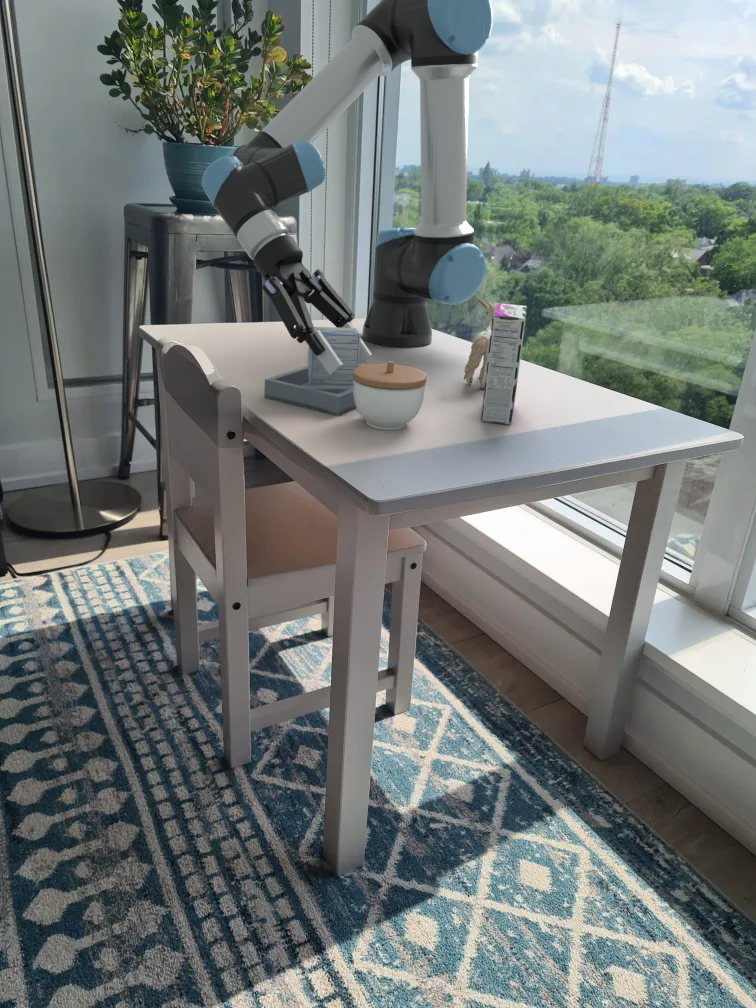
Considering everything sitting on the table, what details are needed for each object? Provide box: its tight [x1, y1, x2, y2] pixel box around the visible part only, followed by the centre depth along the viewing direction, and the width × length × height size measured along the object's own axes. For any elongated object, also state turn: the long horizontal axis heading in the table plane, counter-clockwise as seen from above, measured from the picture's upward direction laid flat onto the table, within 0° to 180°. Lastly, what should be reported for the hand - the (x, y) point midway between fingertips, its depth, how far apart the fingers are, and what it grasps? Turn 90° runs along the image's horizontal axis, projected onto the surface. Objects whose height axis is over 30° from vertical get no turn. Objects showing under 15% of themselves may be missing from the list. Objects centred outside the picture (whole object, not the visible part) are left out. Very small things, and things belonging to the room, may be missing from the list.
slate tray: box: [264, 365, 357, 417], centre depth 126 cm, size 18×14×3 cm
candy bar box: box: [480, 302, 528, 425], centre depth 119 cm, size 11×5×16 cm, turn 168°
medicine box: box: [307, 326, 362, 386], centre depth 124 cm, size 8×4×9 cm, turn 100°
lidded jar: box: [353, 360, 427, 431], centre depth 112 cm, size 11×11×9 cm
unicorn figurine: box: [463, 296, 500, 390], centre depth 138 cm, size 7×20×13 cm, turn 171°
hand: (351, 364), depth 122 cm, fingers closed on medicine box, 8 cm apart
